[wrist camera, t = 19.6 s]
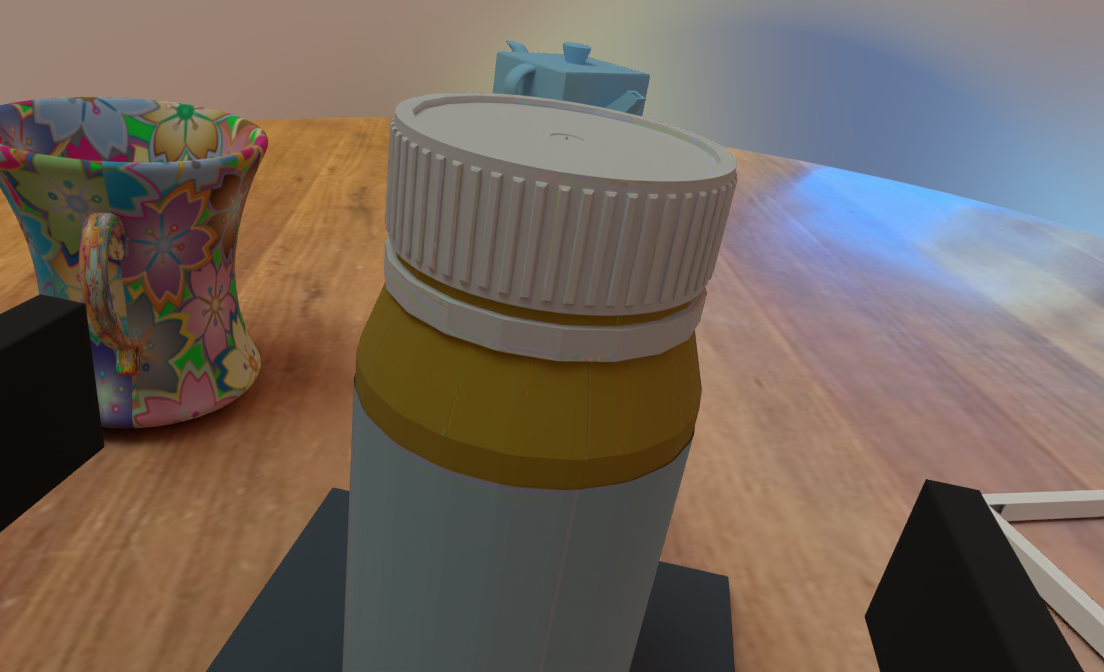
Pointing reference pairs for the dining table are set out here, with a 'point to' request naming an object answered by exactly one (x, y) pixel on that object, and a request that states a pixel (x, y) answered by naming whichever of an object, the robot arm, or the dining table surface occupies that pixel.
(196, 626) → the dining table surface
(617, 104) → the teapot
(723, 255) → the dining table surface
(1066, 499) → the photo frame
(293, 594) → the mat
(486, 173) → the bottle
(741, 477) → the dining table surface
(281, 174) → the dining table surface
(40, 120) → the mug
